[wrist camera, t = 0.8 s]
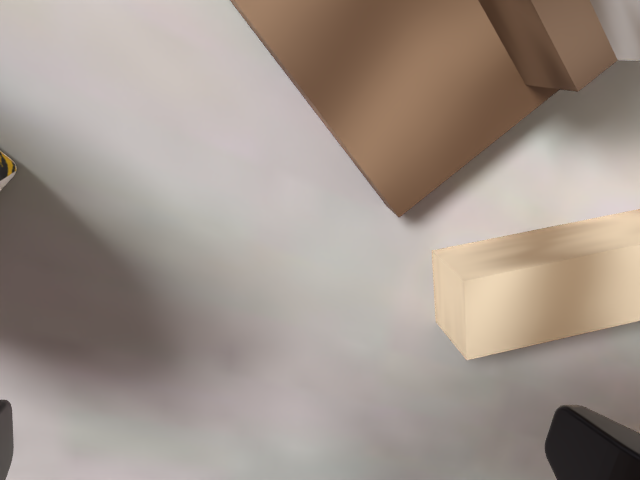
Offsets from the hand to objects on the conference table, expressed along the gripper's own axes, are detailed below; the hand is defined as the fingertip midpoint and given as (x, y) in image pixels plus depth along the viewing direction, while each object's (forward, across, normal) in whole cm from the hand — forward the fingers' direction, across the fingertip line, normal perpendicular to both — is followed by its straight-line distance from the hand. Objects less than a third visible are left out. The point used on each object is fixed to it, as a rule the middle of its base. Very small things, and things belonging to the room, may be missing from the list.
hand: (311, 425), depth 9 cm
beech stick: (+13, -19, 0) cm, 23 cm away
